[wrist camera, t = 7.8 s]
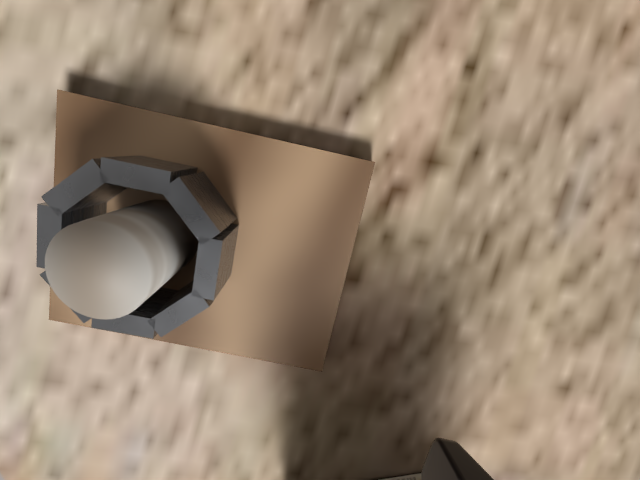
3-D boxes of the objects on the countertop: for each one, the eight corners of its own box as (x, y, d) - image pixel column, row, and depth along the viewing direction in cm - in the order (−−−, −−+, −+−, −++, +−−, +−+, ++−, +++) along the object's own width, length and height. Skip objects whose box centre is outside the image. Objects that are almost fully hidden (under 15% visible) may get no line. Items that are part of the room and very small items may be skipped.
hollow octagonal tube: (246, 177, 16) (231, 184, 13) (224, 315, 18) (206, 348, 15) (89, 144, 16) (38, 144, 13) (82, 289, 17) (36, 317, 15)
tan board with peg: (371, 161, 17) (399, 168, 11) (321, 360, 20) (323, 449, 14) (72, 93, 16) (-64, 62, 10) (62, 310, 19) (-51, 383, 13)
